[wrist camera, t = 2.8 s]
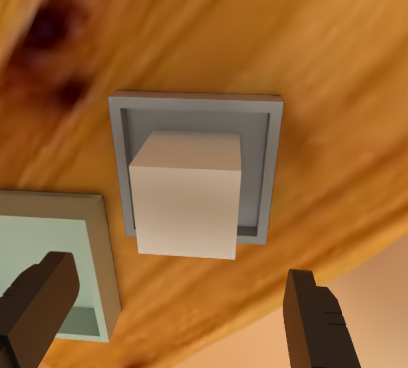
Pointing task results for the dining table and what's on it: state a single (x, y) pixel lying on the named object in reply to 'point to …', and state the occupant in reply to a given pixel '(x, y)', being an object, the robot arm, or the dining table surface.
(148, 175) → the beige block
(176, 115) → the bin
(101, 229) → the bin
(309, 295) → the robot arm
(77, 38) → the dining table surface
